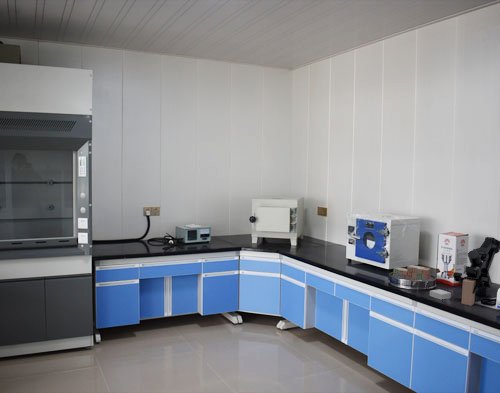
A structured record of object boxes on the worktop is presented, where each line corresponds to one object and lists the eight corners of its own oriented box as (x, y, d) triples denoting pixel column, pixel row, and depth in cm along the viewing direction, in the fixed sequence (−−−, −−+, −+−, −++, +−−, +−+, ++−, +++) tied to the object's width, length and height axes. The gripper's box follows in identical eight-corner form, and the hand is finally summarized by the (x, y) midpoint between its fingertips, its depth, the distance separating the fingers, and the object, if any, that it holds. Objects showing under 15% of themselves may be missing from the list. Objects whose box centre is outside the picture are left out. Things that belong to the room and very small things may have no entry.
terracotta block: (464, 301, 250) (466, 278, 249) (474, 303, 246) (475, 280, 245) (461, 303, 246) (462, 280, 245) (471, 305, 243) (472, 282, 242)
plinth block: (439, 294, 263) (439, 289, 263) (450, 298, 256) (451, 292, 256) (429, 295, 260) (429, 290, 260) (440, 299, 253) (441, 294, 252)
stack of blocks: (392, 282, 287) (393, 264, 286) (396, 281, 292) (397, 262, 291) (426, 289, 273) (427, 269, 272) (429, 287, 278) (430, 268, 277)
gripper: (455, 257, 254) (446, 280, 247) (491, 263, 241) (483, 287, 234) (459, 269, 260) (451, 291, 253) (494, 275, 247) (487, 299, 240)
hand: (467, 292), depth 245 cm, fingers closed on terracotta block, 5 cm apart
